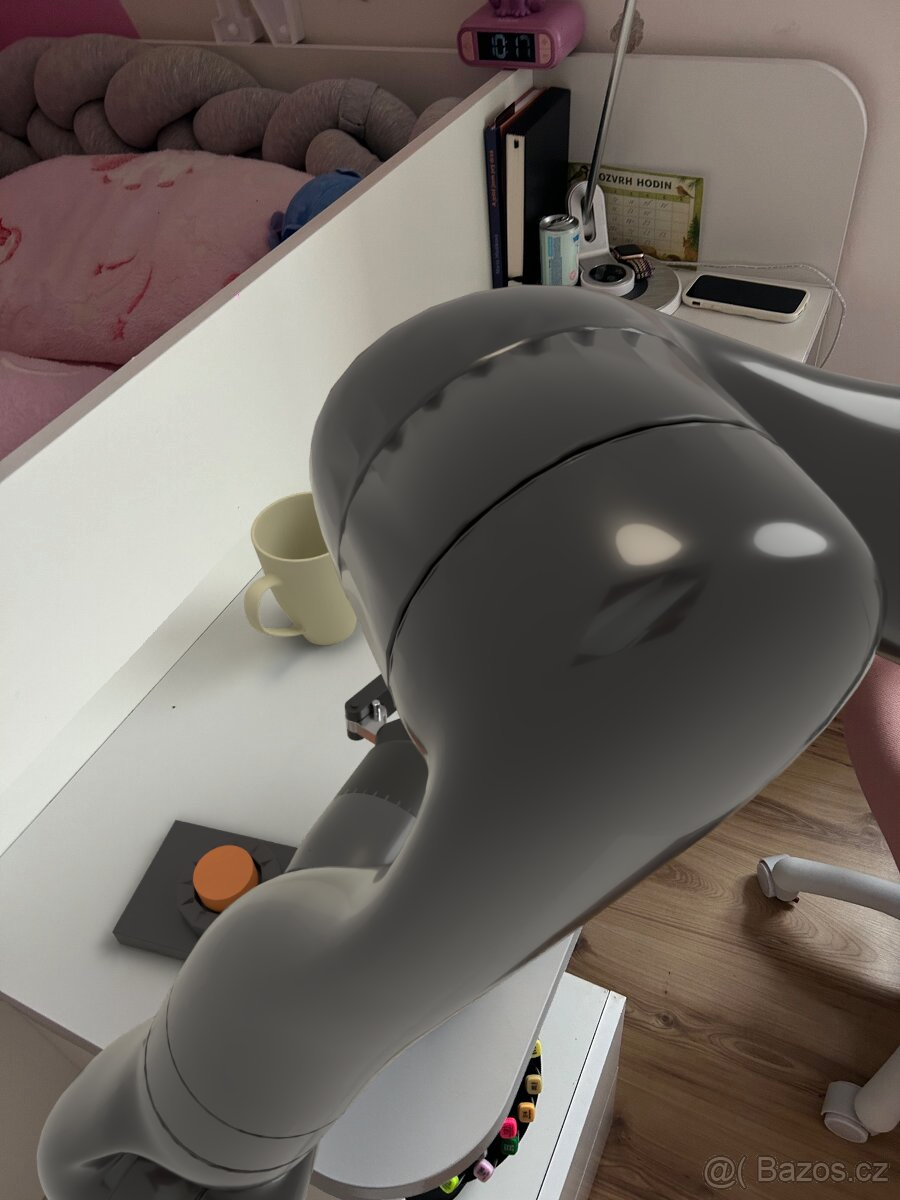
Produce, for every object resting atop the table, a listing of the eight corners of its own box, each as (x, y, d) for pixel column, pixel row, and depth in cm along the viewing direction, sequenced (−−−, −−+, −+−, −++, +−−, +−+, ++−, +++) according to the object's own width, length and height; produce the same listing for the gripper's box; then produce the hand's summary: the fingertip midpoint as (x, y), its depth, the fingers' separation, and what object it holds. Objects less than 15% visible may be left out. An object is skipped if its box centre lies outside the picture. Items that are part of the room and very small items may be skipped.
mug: (271, 599, 87) (242, 498, 79) (376, 586, 87) (358, 485, 79) (266, 687, 79) (233, 586, 71) (381, 673, 79) (362, 570, 71)
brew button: (268, 865, 63) (262, 851, 62) (243, 918, 61) (237, 905, 59) (216, 852, 64) (209, 839, 63) (189, 905, 62) (182, 892, 60)
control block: (309, 861, 67) (300, 835, 64) (257, 981, 61) (245, 957, 58) (181, 831, 69) (168, 805, 67) (119, 943, 63) (102, 919, 61)
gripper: (516, 859, 43) (630, 643, 55) (262, 753, 48) (416, 576, 60) (509, 947, 48) (615, 730, 60) (278, 842, 53) (418, 661, 65)
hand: (515, 654), depth 60 cm, fingers closed on pill bottle, 5 cm apart
